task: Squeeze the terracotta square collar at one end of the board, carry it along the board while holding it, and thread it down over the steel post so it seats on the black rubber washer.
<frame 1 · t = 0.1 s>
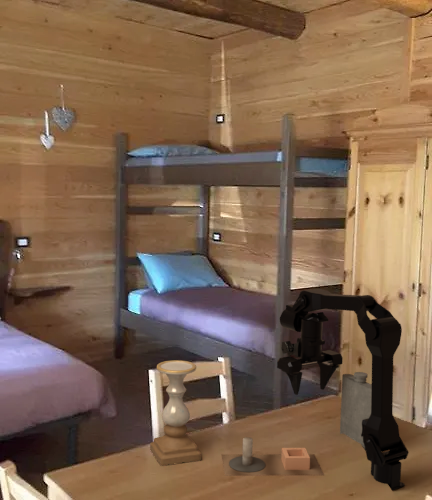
hand: (309, 391, 180), 15 cm above the table, fingers open, 9 cm apart
candle holder: (175, 455, 173), on the table
hip flask: (358, 444, 183), on the table
collar: (295, 464, 165), point 1 cm above the table, touching post board
post board: (271, 470, 165), on the table
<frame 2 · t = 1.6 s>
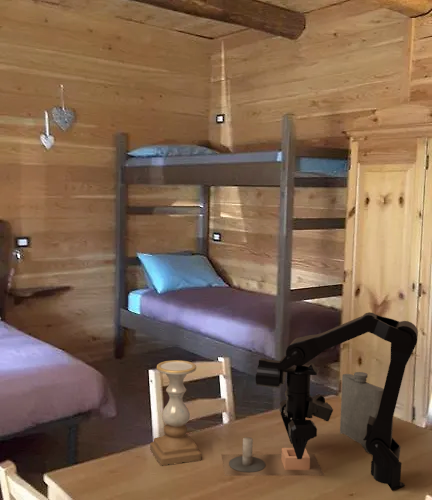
hand: (296, 451, 165), 5 cm above the table, fingers open, 9 cm apart
nothing on the table moved.
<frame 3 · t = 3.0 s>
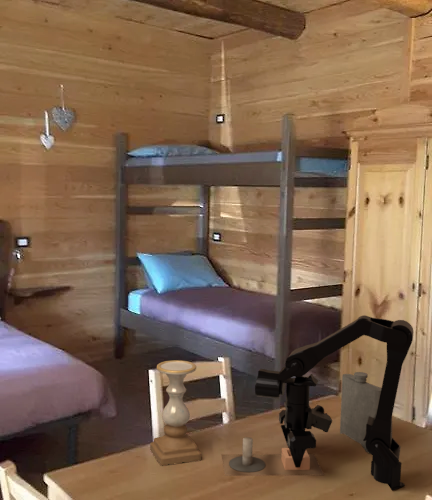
hand: (295, 461, 165), 2 cm above the table, fingers closed on collar, 6 cm apart
collar: (295, 464, 165), point 1 cm above the table, touching gripper, post board
everything else where it was.
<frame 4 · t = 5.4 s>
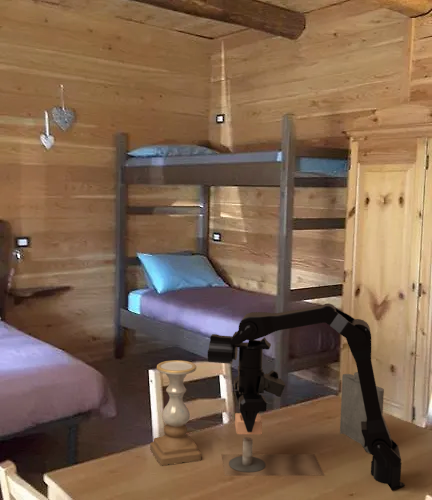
hand: (248, 426, 163), 11 cm above the table, fingers closed on collar, 6 cm apart
collar: (248, 429, 163), point 10 cm above the table, touching gripper
everything else where it was.
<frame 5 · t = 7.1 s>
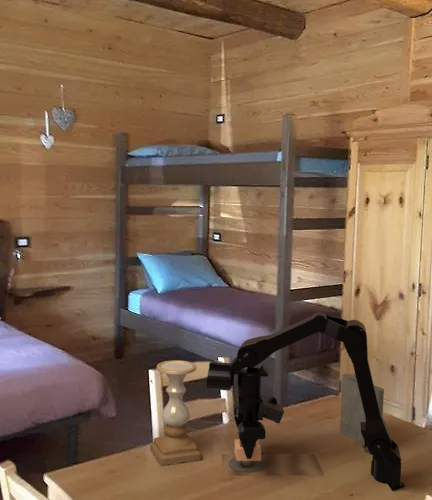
hand: (247, 453, 164), 4 cm above the table, fingers closed on collar, 6 cm apart
collar: (247, 455, 164), point 4 cm above the table, touching gripper
everything else where it was.
when the fingers open (3 cm above the table, at t = 8.3 s): collar stays where it is, resting on post board.
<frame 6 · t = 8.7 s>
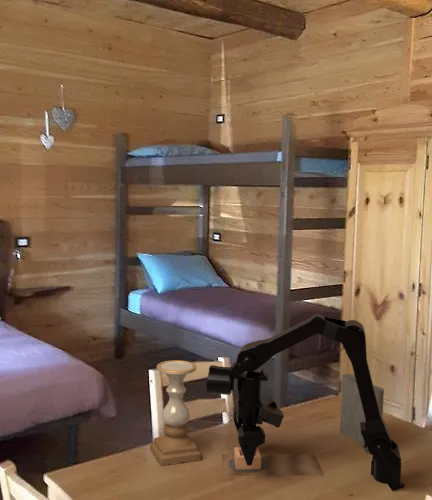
hand: (247, 457, 164), 3 cm above the table, fingers open, 9 cm apart
collar: (247, 463, 164), point 2 cm above the table, touching post board
everything else where it was.
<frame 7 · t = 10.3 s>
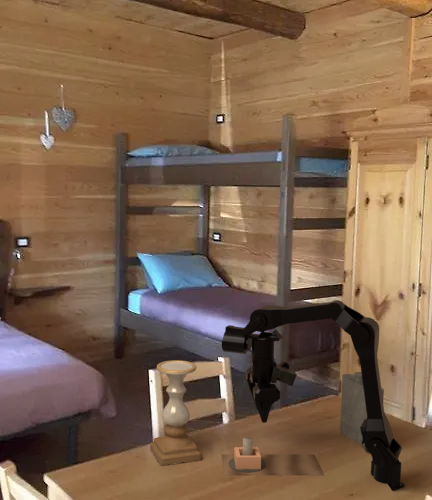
hand: (261, 415, 169), 12 cm above the table, fingers open, 9 cm apart
nothing on the table moved.
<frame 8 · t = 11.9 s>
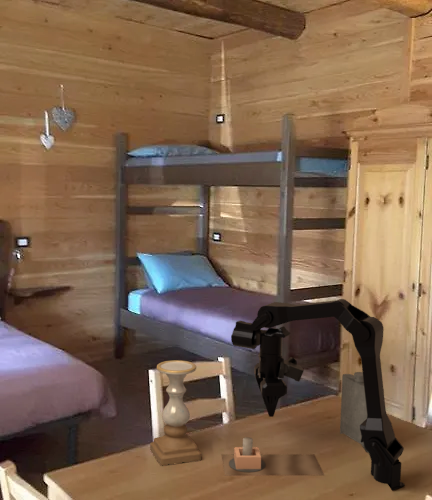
hand: (268, 410, 173), 12 cm above the table, fingers open, 9 cm apart
nothing on the table moved.
at the end: collar 0.0 cm from the target spot on the post board, point 1.7 cm above the post board's base; collar tilted 0°; the gripper is holding nothing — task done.
